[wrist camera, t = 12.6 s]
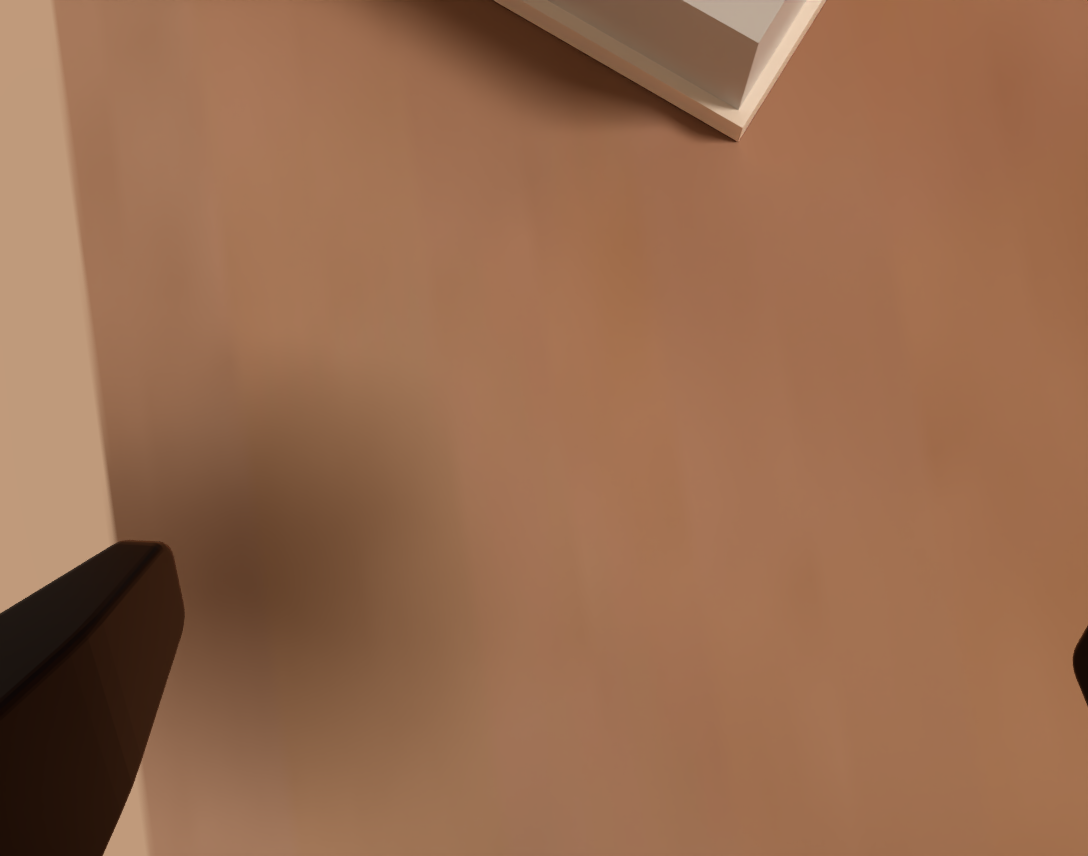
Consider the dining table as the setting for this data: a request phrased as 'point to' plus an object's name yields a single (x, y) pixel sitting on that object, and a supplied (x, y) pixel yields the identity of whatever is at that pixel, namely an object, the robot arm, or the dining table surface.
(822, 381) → the dining table surface
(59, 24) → the dining table surface
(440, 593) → the dining table surface
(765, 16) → the can dock
